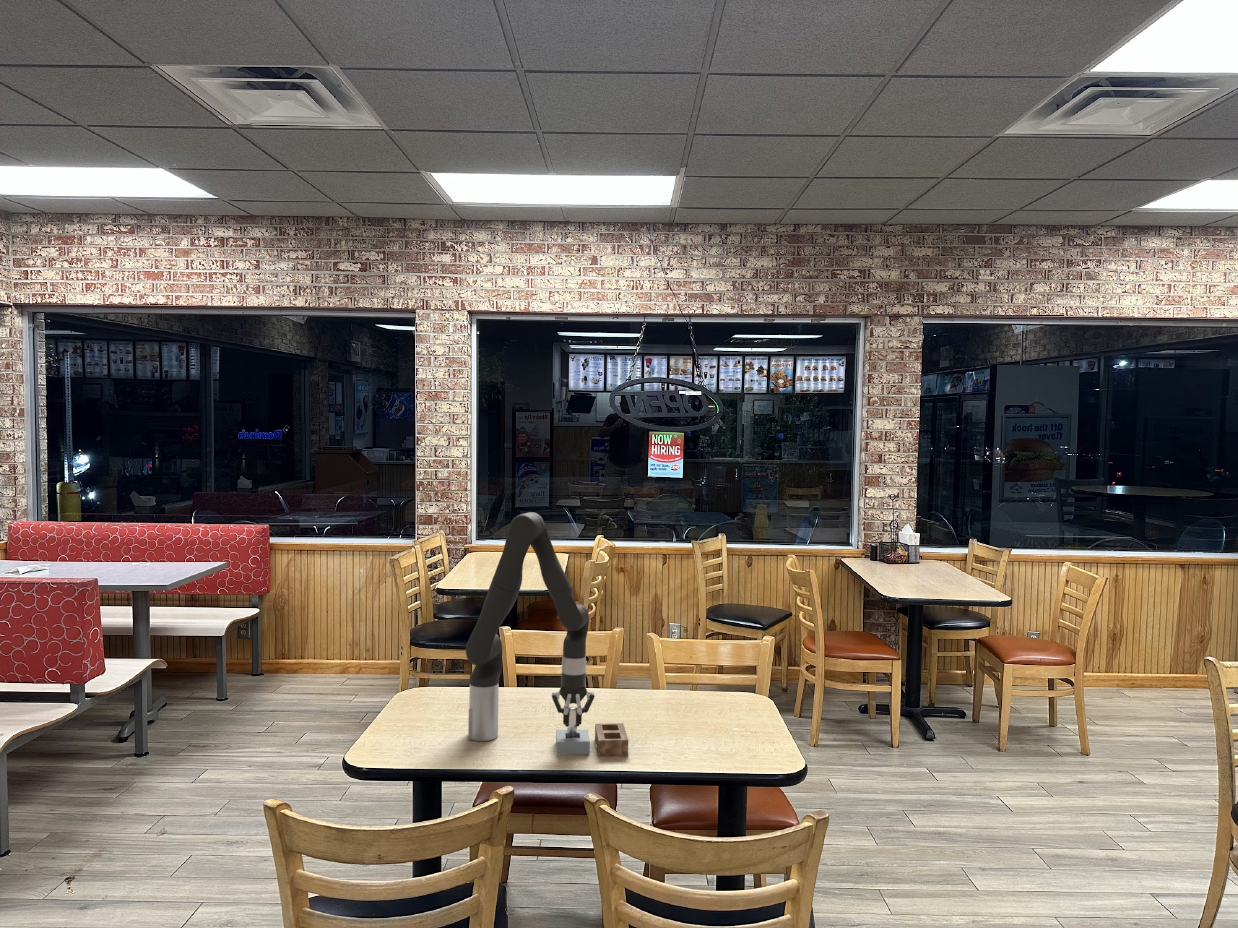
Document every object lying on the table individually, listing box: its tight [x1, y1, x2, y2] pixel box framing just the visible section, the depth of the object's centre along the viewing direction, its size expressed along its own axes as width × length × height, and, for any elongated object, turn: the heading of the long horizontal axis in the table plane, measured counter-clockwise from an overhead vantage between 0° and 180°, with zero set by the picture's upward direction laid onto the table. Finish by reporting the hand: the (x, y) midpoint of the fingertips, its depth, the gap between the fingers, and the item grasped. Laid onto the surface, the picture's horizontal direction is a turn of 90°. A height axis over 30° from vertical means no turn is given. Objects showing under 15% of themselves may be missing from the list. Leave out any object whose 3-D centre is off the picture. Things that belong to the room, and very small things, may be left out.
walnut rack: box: [594, 722, 629, 758], centre depth 244 cm, size 9×14×5 cm, turn 6°
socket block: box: [555, 728, 591, 756], centre depth 243 cm, size 10×10×4 cm
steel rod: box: [566, 706, 578, 738], centre depth 243 cm, size 3×3×10 cm
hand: (572, 725), depth 243 cm, fingers closed on steel rod, 3 cm apart
